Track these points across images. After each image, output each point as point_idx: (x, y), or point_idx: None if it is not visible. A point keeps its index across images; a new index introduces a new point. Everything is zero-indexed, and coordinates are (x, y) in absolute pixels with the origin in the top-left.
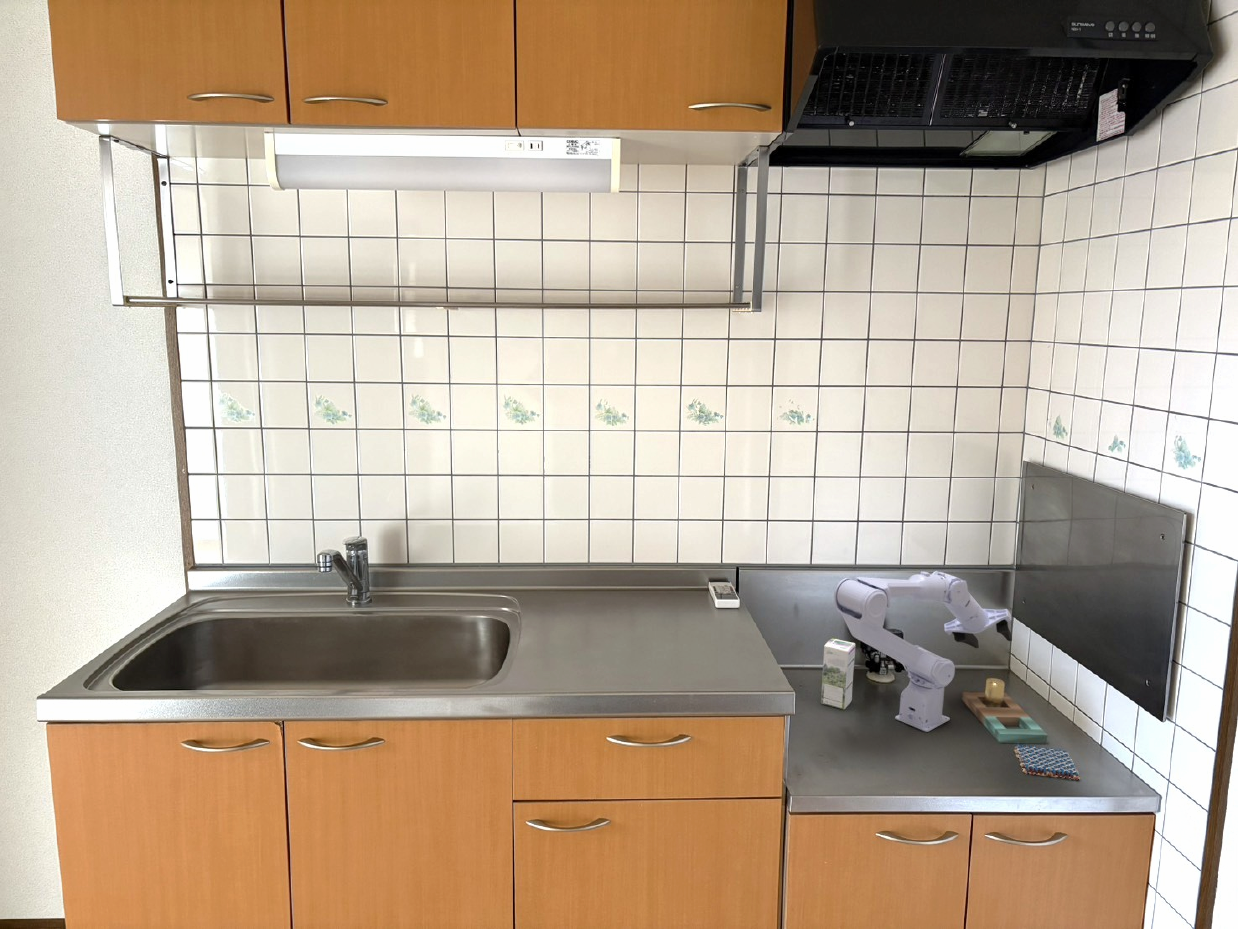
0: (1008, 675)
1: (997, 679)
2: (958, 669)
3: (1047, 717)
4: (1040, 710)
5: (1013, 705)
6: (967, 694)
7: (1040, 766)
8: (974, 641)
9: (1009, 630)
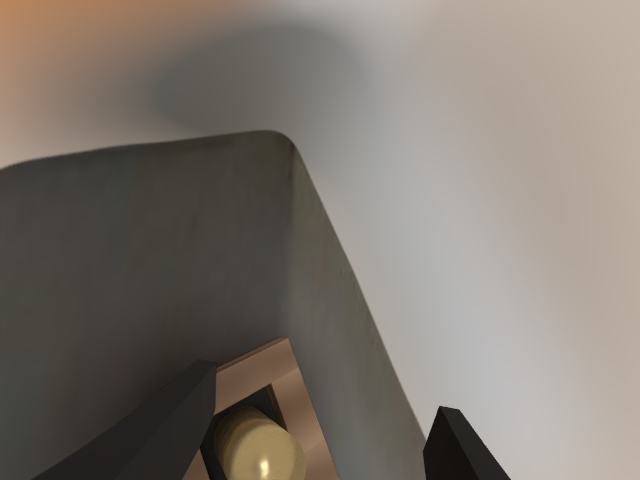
0: (292, 164)
1: (280, 439)
2: (157, 147)
3: (369, 393)
4: (355, 356)
5: (305, 431)
6: None
7: None
8: (183, 449)
9: (479, 442)
